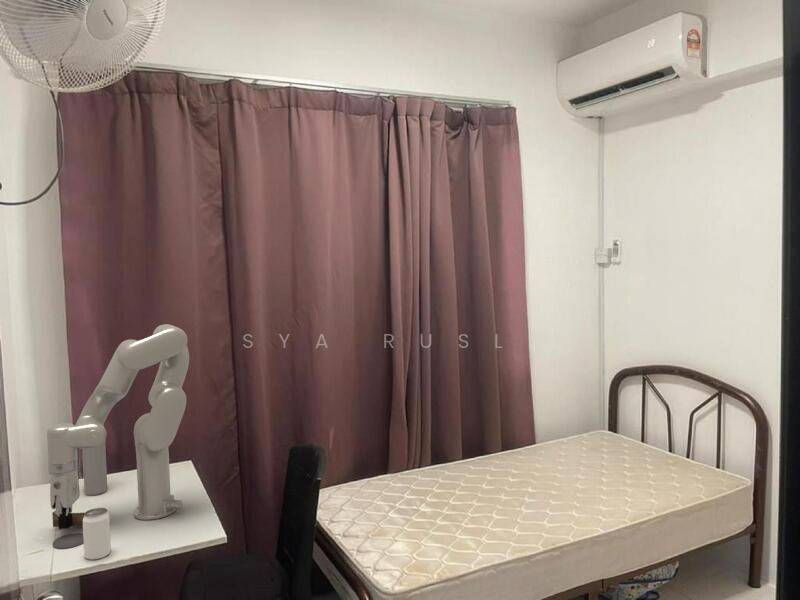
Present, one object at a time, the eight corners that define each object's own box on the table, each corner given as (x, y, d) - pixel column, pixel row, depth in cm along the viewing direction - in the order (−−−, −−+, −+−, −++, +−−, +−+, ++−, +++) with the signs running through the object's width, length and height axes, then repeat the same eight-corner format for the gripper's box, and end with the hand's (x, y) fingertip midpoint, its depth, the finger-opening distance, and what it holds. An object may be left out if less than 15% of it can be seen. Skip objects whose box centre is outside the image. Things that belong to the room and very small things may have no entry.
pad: (94, 534, 178) (94, 533, 178) (75, 549, 169) (75, 547, 169) (65, 534, 179) (65, 532, 179) (45, 548, 170) (45, 546, 170)
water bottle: (112, 487, 215) (108, 418, 213) (100, 496, 207) (97, 424, 205) (86, 488, 215) (82, 418, 213) (74, 496, 207) (70, 424, 205)
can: (81, 554, 166) (78, 512, 165) (106, 546, 170) (104, 505, 169) (89, 563, 161) (86, 519, 160) (114, 554, 166) (112, 511, 165)
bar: (88, 527, 181) (88, 512, 180) (53, 527, 181) (52, 512, 181) (95, 522, 184) (94, 507, 184) (60, 521, 185) (59, 507, 185)
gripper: (67, 474, 171) (69, 537, 173) (85, 457, 186) (88, 516, 187) (38, 476, 170) (41, 539, 171) (59, 459, 185) (61, 518, 186)
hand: (65, 527), depth 179 cm, fingers closed
